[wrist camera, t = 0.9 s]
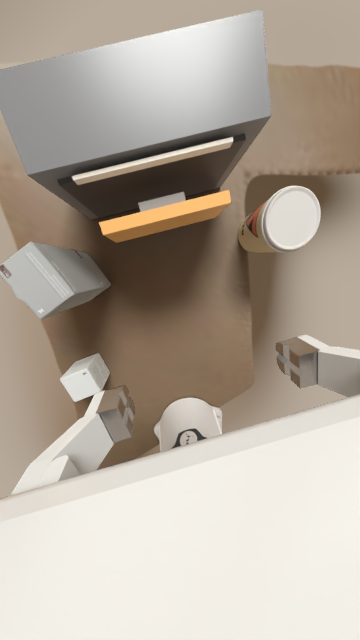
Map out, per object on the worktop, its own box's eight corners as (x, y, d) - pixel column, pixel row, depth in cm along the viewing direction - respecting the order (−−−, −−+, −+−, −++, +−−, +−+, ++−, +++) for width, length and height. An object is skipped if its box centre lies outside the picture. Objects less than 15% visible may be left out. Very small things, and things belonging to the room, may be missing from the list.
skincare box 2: (74, 361, 44) (58, 378, 37) (99, 351, 44) (87, 367, 36) (87, 382, 45) (73, 403, 38) (111, 373, 45) (101, 392, 38)
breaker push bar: (215, 217, 29) (231, 202, 23) (116, 242, 29) (102, 235, 22) (211, 196, 29) (226, 174, 22) (110, 222, 28) (93, 207, 22)
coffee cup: (251, 199, 38) (290, 168, 26) (285, 226, 40) (335, 208, 28) (225, 241, 40) (251, 229, 28) (259, 265, 42) (296, 263, 30)
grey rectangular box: (220, 193, 37) (272, 127, 20) (93, 225, 37) (31, 186, 19) (212, 139, 35) (262, 9, 17) (75, 172, 34) (-15, 72, 17)
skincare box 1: (112, 284, 40) (82, 294, 25) (86, 303, 40) (40, 324, 25) (85, 249, 38) (33, 236, 22) (57, 269, 38) (-12, 270, 23)
